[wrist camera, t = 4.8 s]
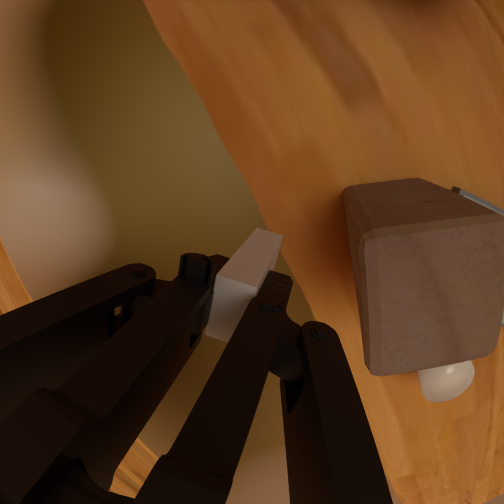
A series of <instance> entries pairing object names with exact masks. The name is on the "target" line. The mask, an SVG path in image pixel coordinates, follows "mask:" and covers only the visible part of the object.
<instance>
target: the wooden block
mask: <svg viewBox="0 0 504 504" xmlns="http://www.w3.org/2000/svg"><path fill="white" fill-rule="evenodd" d="M343 201H344V207H345V214H346V221H347V229H348V237H349V245H350V254H351V263H352V269H353V275H354V282H355V288H356V295H357V302H358V309H359V317H360V324H361V333H362V342H363V351H364V361H365V365H366V366H367V368H368V370H369V371H370V373H371V375H376V376H386V375H394V374H401V373H407V372H413V371H419V370H425V369H431V368H436V367H441V366H446V365H451V364H456V363H461V362H465V361H469V360H474V359H478V358H482V357H486V356H488V355H489V354H491V353H492V352H493V351H494V349H495V348H496V346H497V341H498V337H499V332H500V327H501V322H502V317H503V311H504V216H503V215H501V214H499V213H497V212H495V211H493V210H491V209H489V208H487V207H485V206H483V205H481V204H479V203H477V202H475V201H472V200H470V199H468V198H466V197H464V196H461V195H459V194H457V193H455V192H452V191H450V190H448V189H445V188H443V187H440V186H438V185H436V184H433V183H431V182H428V181H426V180H423V179H420V178H413V179H404V180H396V181H387V182H379V183H371V184H363V185H356V186H350V187H348V188H347V189H345V190H344V194H343Z"/></svg>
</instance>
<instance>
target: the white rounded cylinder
mask: <svg viewBox="0 0 504 504" xmlns="http://www.w3.org/2000/svg"><path fill="white" fill-rule="evenodd" d="M417 373H418V377H419V381H420V384H421V388H422V392H423V395H424V397H425V398H426V399H428V400H429V401H432V402H444V401H448V400H451V399H453V398H455V397H457V396H459V395H460V394H461V393H463V392H464V391H465V390H466V389H467V388H468V386H469V385H470V384H471V382H472V380H473V378H474V373H475V370H474V366H473V364H472V362H471V360H469V361H465V362H461V363H456V364H451V365H446V366H441V367H436V368H431V369H425V370H419V371H417Z"/></svg>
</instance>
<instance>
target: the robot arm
mask: <svg viewBox="0 0 504 504" xmlns="http://www.w3.org/2000/svg"><path fill="white" fill-rule="evenodd" d="M282 239H283V235H280V234H276V233H273V232H270V231H266V230H263V229H260V228H256V229H255V230H254V232H253V233H252V234H251V235H250V236H249V238H248V239H247V240H246V241H245V242H244V243H243V244H242V246H241V247H240V248H239V249H238V250H237V251H236V253H235V254H234V255H233V256H232V257H231V258H228V257H224V256H221V255H218V254H217V255H213V256H209V257H208V256H206V255H203V254H198V253H186V254H183V255H181V258H180V265H179V272H178V276H177V277H176V278H174V279H173V280H172V281H165V280H158V279H156V272H155V270H154V269H153V268H152V267H150V266H147V265H145V264H140V263H137V264H129V265H126V266H123V267H120V268H118V269H115V270H112V271H110V272H107V273H105V274H102V275H99V276H97V277H94V278H92V279H89V280H87V281H84V282H82V283H79V284H76V285H74V286H71V287H69V288H66V289H64V290H61V291H59V292H56V293H54V294H51V295H49V296H47V297H44V298H41V299H39V300H37V301H34V302H32V303H29V304H27V305H24V306H22V307H19V308H17V309H15V310H12V311H10V312H7V313H5V314H3V315H0V504H225V503H226V500H227V498H228V495H229V492H230V489H231V486H232V483H233V477H234V474H235V471H236V468H237V465H238V462H239V460H240V457H241V454H242V451H243V448H244V445H245V442H246V439H247V436H248V433H249V430H250V427H251V424H252V421H253V418H254V415H255V412H256V409H257V406H258V403H259V400H260V397H261V394H262V390H263V387H264V384H265V381H266V378H267V374H268V371H270V372H271V373H273V374H275V375H277V376H278V377H280V378H281V379H280V392H281V403H282V413H283V423H284V424H283V425H284V436H285V447H286V459H287V470H288V482H289V495H290V504H393V502H392V498H391V495H390V492H389V488H388V484H387V480H386V477H385V474H384V470H383V467H382V464H381V460H380V457H379V454H378V450H377V447H376V444H375V441H374V438H373V435H372V431H371V428H370V425H369V422H368V419H367V416H366V413H365V410H364V407H363V404H362V401H361V398H360V395H359V392H358V389H357V387H356V384H355V381H354V378H353V375H352V372H351V369H350V367H349V364H348V361H347V358H346V355H345V353H344V350H343V347H342V345H341V342H340V339H339V336H338V334H337V333H336V331H335V330H334V329H333V328H331V327H330V326H329V325H327V324H325V323H322V322H318V321H309V322H306V323H304V324H303V325H302V326H300V325H298V324H297V323H295V322H293V321H292V320H291V319H290V318H289V317H288V315H287V313H286V307H287V303H288V300H289V296H290V292H291V288H292V285H293V281H292V279H291V277H290V276H287V275H284V274H281V273H278V272H274V271H273V270H274V266H275V263H276V260H277V256H278V253H279V249H280V246H281V242H282ZM118 306H120V307H121V310H120V314H118V315H114V309H115V308H116V307H118ZM206 325H207V326H206ZM205 326H206V331H205V334H206V335H208V336H210V337H213V338H216V339H219V340H222V341H224V342H227V343H228V344H227V346H226V348H225V350H224V351H223V354H222V355H221V357H220V359H219V361H218V363H217V365H216V366H215V369H214V370H213V372H212V374H211V376H210V378H209V380H208V381H207V383H206V385H205V387H204V389H203V391H202V392H201V394H200V396H199V398H198V400H197V402H196V403H195V405H194V407H193V409H192V411H191V413H190V414H189V416H188V418H187V420H186V422H185V424H184V425H183V427H182V429H181V431H180V433H179V435H178V436H177V438H176V440H175V442H174V443H173V445H172V447H171V449H170V450H169V452H168V453H167V454H166V455H162V456H161V457H160V458H159V459H158V461H157V462H156V464H155V465H154V467H153V468H152V470H151V472H150V474H149V475H148V477H147V479H146V480H145V482H144V484H143V485H142V487H141V489H140V491H139V492H138V494H137V496H136V497H135V499H134V498H130V497H127V496H123V495H119V494H116V493H113V492H109V489H110V487H111V484H112V480H113V476H114V473H115V471H116V469H117V467H118V466H119V464H120V462H121V461H122V459H123V458H124V456H125V455H126V453H127V452H128V450H129V449H130V447H131V446H132V444H133V443H134V441H135V440H136V438H137V437H138V435H139V434H140V432H141V431H142V429H143V428H144V426H145V425H146V423H147V422H148V420H149V418H150V417H151V416H152V414H153V413H154V411H155V410H156V408H157V406H158V405H159V403H160V402H161V400H162V399H163V397H164V396H165V394H166V393H167V391H168V390H169V388H170V387H171V385H172V384H173V382H174V381H175V379H176V378H177V376H178V374H179V373H180V371H181V370H182V368H183V367H184V365H185V364H186V362H187V361H188V359H189V358H190V356H191V355H192V353H193V352H194V350H195V349H196V347H197V345H198V344H199V342H200V340H201V336H202V331H203V329H204V328H205Z"/></svg>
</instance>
